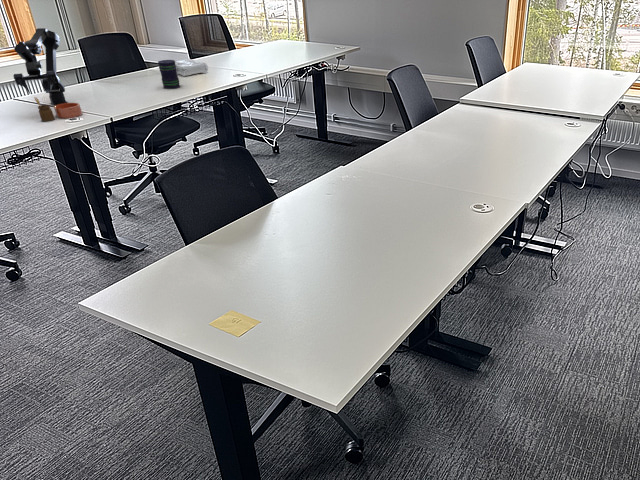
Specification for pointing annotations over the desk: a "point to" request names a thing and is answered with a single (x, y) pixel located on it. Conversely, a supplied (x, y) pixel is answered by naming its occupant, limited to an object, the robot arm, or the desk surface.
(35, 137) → the desk surface
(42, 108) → the utensil holder
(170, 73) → the storage jar
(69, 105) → the pot
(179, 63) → the white plastic package
